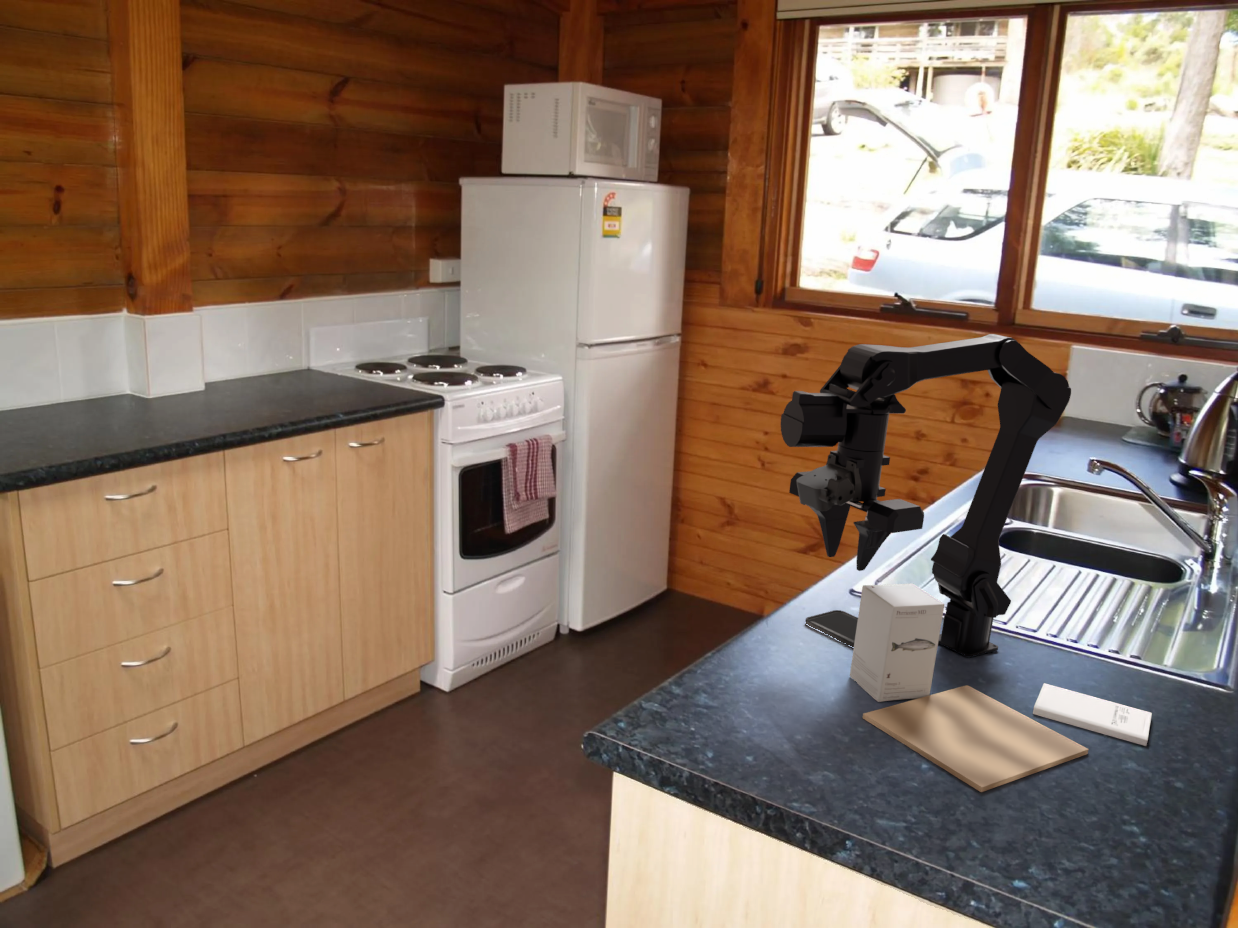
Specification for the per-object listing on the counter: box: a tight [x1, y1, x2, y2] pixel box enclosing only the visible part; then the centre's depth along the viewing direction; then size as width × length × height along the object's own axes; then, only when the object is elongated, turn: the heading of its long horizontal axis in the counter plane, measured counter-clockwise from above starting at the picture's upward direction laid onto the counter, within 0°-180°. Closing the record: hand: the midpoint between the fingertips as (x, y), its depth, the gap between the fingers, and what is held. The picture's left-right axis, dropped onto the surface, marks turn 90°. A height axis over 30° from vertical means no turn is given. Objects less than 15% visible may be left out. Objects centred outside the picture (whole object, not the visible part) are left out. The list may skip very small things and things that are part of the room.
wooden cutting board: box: [862, 685, 1089, 793], centre depth 116 cm, size 18×17×1 cm
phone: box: [805, 609, 858, 647], centre depth 142 cm, size 8×1×15 cm
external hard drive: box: [1032, 682, 1153, 747], centre depth 123 cm, size 2×8×12 cm
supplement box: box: [849, 583, 945, 703], centre depth 125 cm, size 7×7×13 cm
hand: (845, 563), depth 132 cm, fingers open, 5 cm apart
